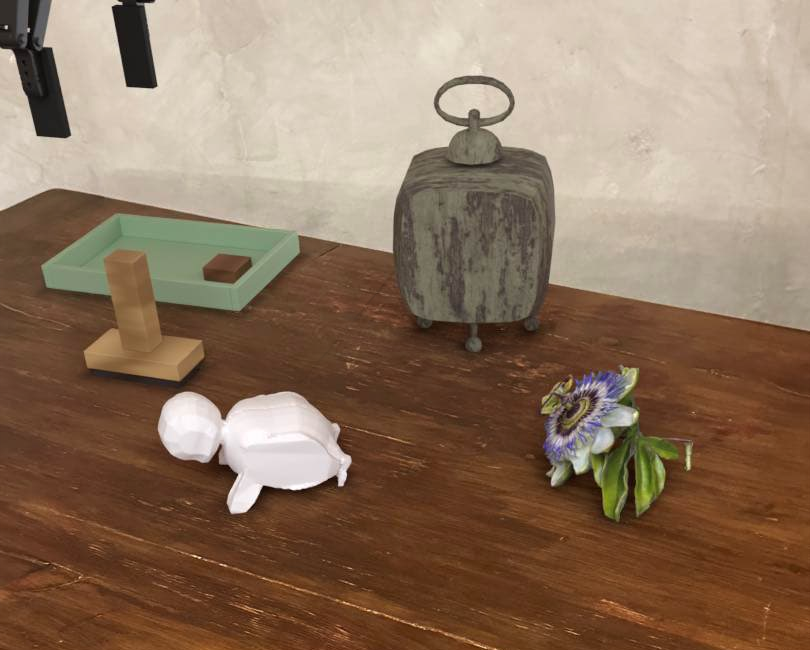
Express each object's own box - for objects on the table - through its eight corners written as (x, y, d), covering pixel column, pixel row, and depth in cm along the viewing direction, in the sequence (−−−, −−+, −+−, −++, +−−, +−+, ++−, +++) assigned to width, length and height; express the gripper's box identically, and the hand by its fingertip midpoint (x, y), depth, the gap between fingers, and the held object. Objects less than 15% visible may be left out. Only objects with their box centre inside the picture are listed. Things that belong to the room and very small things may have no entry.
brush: (89, 379, 108) (61, 261, 100) (117, 355, 111) (91, 239, 104) (182, 393, 105) (159, 272, 98) (206, 367, 109) (187, 249, 101)
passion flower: (555, 531, 94) (519, 392, 94) (682, 498, 94) (646, 358, 93) (571, 538, 83) (530, 380, 82) (715, 500, 83) (675, 341, 82)
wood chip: (204, 280, 123) (201, 267, 122) (220, 265, 126) (218, 253, 125) (236, 284, 122) (235, 271, 121) (252, 269, 125) (251, 256, 124)
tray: (47, 293, 124) (40, 265, 122) (121, 239, 135) (116, 212, 133) (240, 317, 117) (236, 288, 115) (300, 258, 129) (297, 230, 127)
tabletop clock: (551, 324, 113) (561, 62, 98) (547, 367, 106) (557, 92, 91) (408, 320, 115) (397, 63, 100) (395, 363, 108) (380, 93, 93)
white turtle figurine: (316, 474, 98) (143, 446, 93) (344, 389, 94) (165, 355, 88) (334, 530, 92) (149, 504, 86) (365, 442, 87) (173, 408, 82)
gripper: (-26, -178, 70) (53, 163, 83) (170, -212, 88) (210, 71, 101) (-123, -176, 72) (-31, 156, 85) (88, -210, 91) (137, 67, 103)
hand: (100, 110), depth 93 cm, fingers open, 13 cm apart
